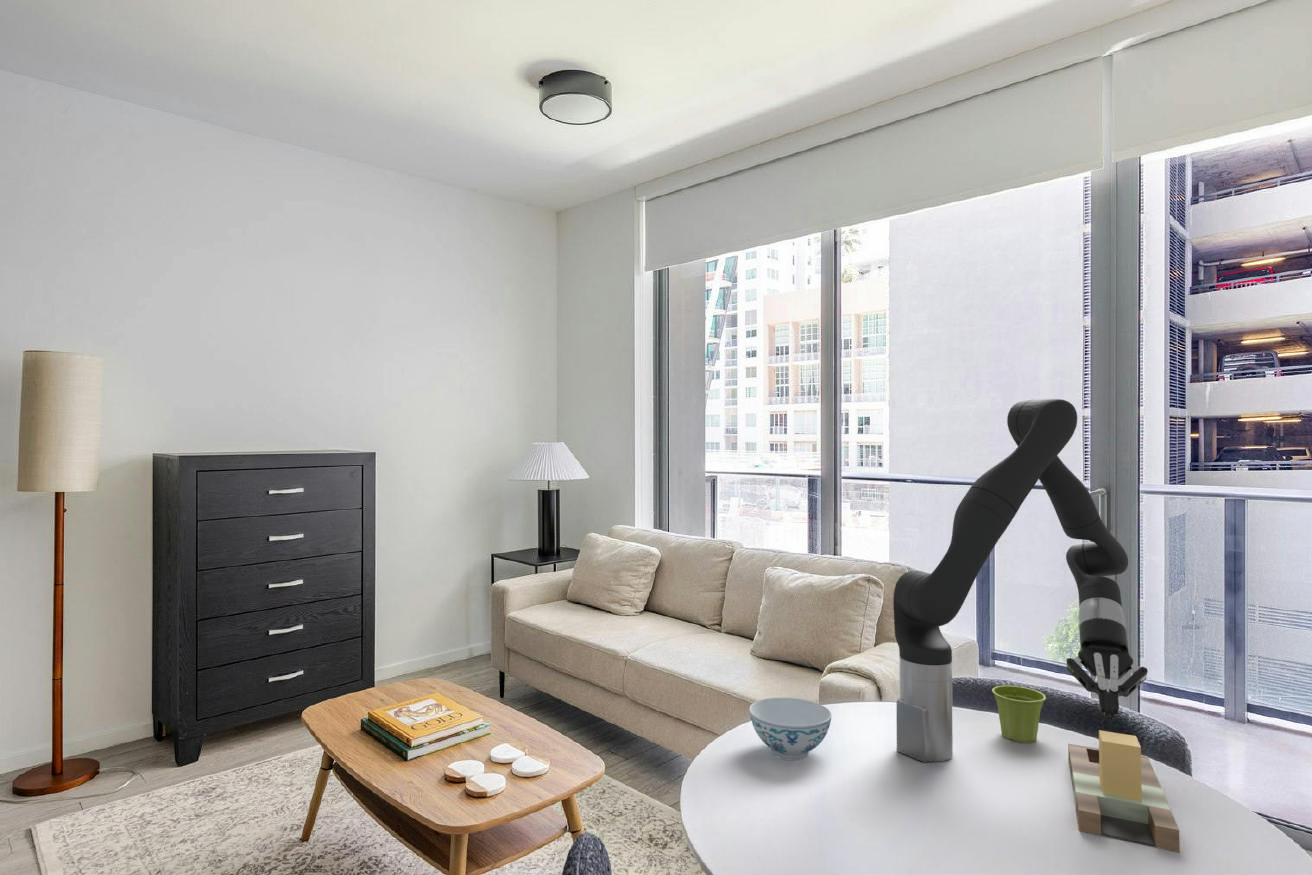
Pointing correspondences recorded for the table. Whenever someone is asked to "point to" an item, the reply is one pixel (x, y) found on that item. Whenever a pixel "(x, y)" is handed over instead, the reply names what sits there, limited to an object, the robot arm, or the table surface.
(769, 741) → the chinaware
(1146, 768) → the box
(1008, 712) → the plant pot
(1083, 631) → the robot arm
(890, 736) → the table surface
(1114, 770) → the ochre block
